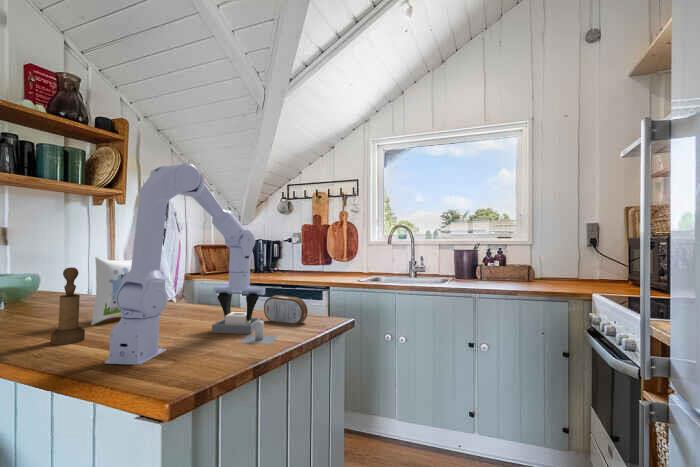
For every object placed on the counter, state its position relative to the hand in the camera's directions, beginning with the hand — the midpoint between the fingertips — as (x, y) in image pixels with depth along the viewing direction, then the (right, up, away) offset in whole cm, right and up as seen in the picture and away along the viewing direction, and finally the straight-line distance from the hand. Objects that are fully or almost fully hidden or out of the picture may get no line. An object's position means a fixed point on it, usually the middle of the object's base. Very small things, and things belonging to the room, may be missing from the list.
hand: (238, 319), depth 103 cm
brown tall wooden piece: (-37, -2, -14) cm, 40 cm away
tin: (+11, -4, +11) cm, 16 cm away
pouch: (-40, -3, +11) cm, 41 cm away
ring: (0, -1, 0) cm, 1 cm away
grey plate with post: (+9, -3, -11) cm, 14 cm away
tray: (0, -3, 0) cm, 3 cm away
